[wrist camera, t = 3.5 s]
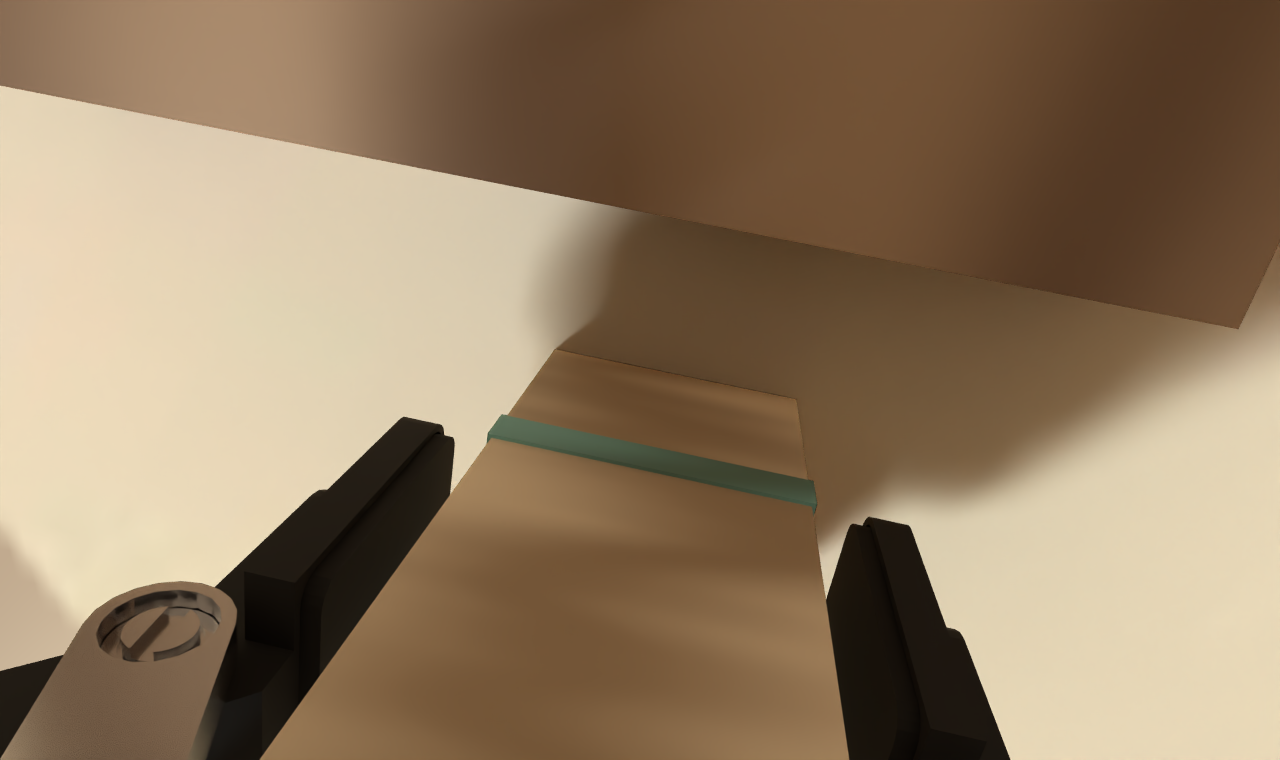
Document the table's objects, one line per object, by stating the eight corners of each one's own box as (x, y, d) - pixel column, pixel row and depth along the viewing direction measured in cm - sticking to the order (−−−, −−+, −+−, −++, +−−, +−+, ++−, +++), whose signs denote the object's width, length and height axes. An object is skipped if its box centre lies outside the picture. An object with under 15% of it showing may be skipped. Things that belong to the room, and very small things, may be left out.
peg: (800, 397, 13) (932, 1210, 4) (744, 605, 14) (737, 1556, 5) (552, 345, 13) (77, 987, 4) (523, 554, 15) (131, 1379, 5)
